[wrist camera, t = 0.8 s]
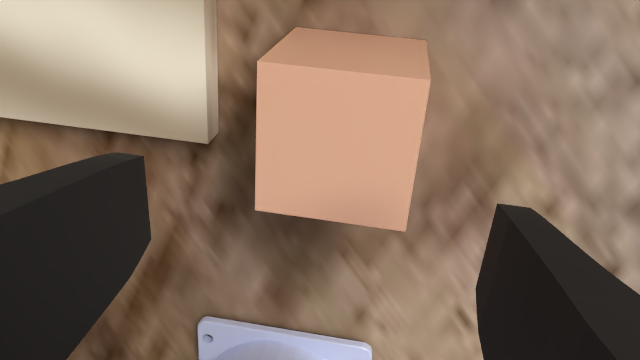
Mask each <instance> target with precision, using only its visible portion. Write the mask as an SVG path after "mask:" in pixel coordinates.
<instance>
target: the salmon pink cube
mask: <svg viewBox="0 0 640 360" xmlns="http://www.w3.org/2000/svg"><path fill="white" fill-rule="evenodd" d="M430 83H431V77H430V69H429V60H428V52H427V43H426V40H418V39H408V38H398V37H388V36H378V35H368V34H359V33H349V32H339V31H329V30H319V29H309V28H300V27H296V28H294V29H293V30H292V31H291V32H290V33H289V34H288V35H286V36H285V37H284V38H283V39H282V40H281V41H280V42H278V43H277V44H276V45H275V46H274V47H273V48H272V49H271V50H269V51H268V52H267V53H266V54H265V55H264V56H263V57H261V58H260V59H259V60H258V61H257V110H256V174H255V210H257V211H264V212H271V213H278V214H285V215H292V216H299V217H306V218H313V219H320V220H327V221H334V222H341V223H348V224H356V225H363V226H370V227H377V228H384V229H391V230H398V231H406V225H407V219H408V213H409V207H410V201H411V196H412V190H413V184H414V178H415V172H416V166H417V160H418V154H419V148H420V142H421V136H422V130H423V124H424V118H425V112H426V106H427V101H428V95H429V89H430Z"/></svg>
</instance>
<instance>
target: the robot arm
mask: <svg viewBox="0 0 640 360" xmlns="http://www.w3.org/2000/svg"><path fill="white" fill-rule="evenodd" d="M150 240H151V232H150V221H149V210H148V199H147V188H146V177H145V166H144V156H139V155H131V154H124V153H110V154H104V155H99V156H95V157H91V158H88V159H84V160H81V161H77V162H74V163H70V164H67V165H64V166H61V167H57V168H54V169H51V170H48V171H44V172H41V173H38V174H35V175H31V176H28V177H25V178H22V179H18V180H15V181H11V182H8V183H4V184H1V185H0V360H66V359H67V358H68V357H69V355H70V354H71V353H72V352H73V350H74V349H75V348H76V347H77V345H78V344H79V343H80V341H81V340H82V339H83V338H84V336H85V335H86V334H87V332H88V331H89V330H90V329H91V327H92V326H93V325H94V323H95V322H96V321H97V320H98V318H99V317H100V316H101V315H102V313H103V312H104V311H105V309H106V308H107V307H108V306H109V304H110V303H111V302H112V300H113V299H114V298H115V296H116V295H117V294H118V293H119V291H120V290H121V289H122V287H123V286H124V285H125V283H126V282H127V281H128V279H129V278H130V276H131V275H132V273H133V271H134V270H135V268H136V266H137V265H138V263H139V261H140V259H141V257H142V256H143V254H144V252H145V250H146V248H147V246H148V244H149V242H150ZM476 304H477V320H478V333H479V338H480V343H481V348H482V353H483V358H484V360H640V295H639V294H638V293H637V292H635V291H634V290H632V289H631V288H630V287H628V286H627V285H626V284H624V283H623V282H622V281H620V280H619V279H618V278H616V277H615V276H614V275H612V274H611V273H610V272H609V271H607V270H606V269H605V268H604V267H602V266H601V265H600V264H599V263H597V262H596V261H595V260H594V259H592V258H591V257H590V256H589V255H588V254H586V253H585V252H584V251H583V250H582V249H580V248H579V247H578V246H577V245H576V244H574V243H573V242H572V241H571V240H570V239H568V238H567V237H566V236H565V235H564V234H563V233H561V232H560V231H559V230H558V229H557V228H556V227H554V226H553V225H552V224H551V223H550V222H548V221H547V220H546V219H545V218H543V217H542V216H541V215H540V214H538V213H537V212H536V211H534V210H533V209H531V208H527V207H520V206H512V205H505V204H497V207H496V211H495V215H494V219H493V223H492V226H491V230H490V234H489V238H488V242H487V246H486V250H485V254H484V258H483V262H482V266H481V270H480V273H479V277H478V281H477V285H476ZM197 330H198V352H199V360H372V348H371V347H370V346H369V345H368V344H367V343H364V342H359V341H353V340H347V339H341V338H335V337H329V336H323V335H317V334H311V333H305V332H299V331H293V330H287V329H281V328H275V327H269V326H263V325H257V324H251V323H245V322H239V321H233V320H227V319H221V318H215V317H203V318H202V319H201V320H200V322H199V324H198V327H197ZM207 334H209V335H211V336H212V337H210V336H208V335H207Z"/></svg>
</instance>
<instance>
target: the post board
mask: <svg viewBox="0 0 640 360" xmlns="http://www.w3.org/2000/svg"><path fill="white" fill-rule="evenodd" d="M0 117H4V118H11V119H19V120H27V121H35V122H42V123H50V124H58V125H66V126H73V127H81V128H89V129H97V130H104V131H112V132H120V133H128V134H135V135H143V136H151V137H159V138H166V139H174V140H182V141H190V142H197V143H205V144H208V143H209V142H210V141H211V140H212V139H213V138H214V137H215V136H216V135H217V134H218V132H219V117H218V64H217V11H216V0H0Z"/></svg>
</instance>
